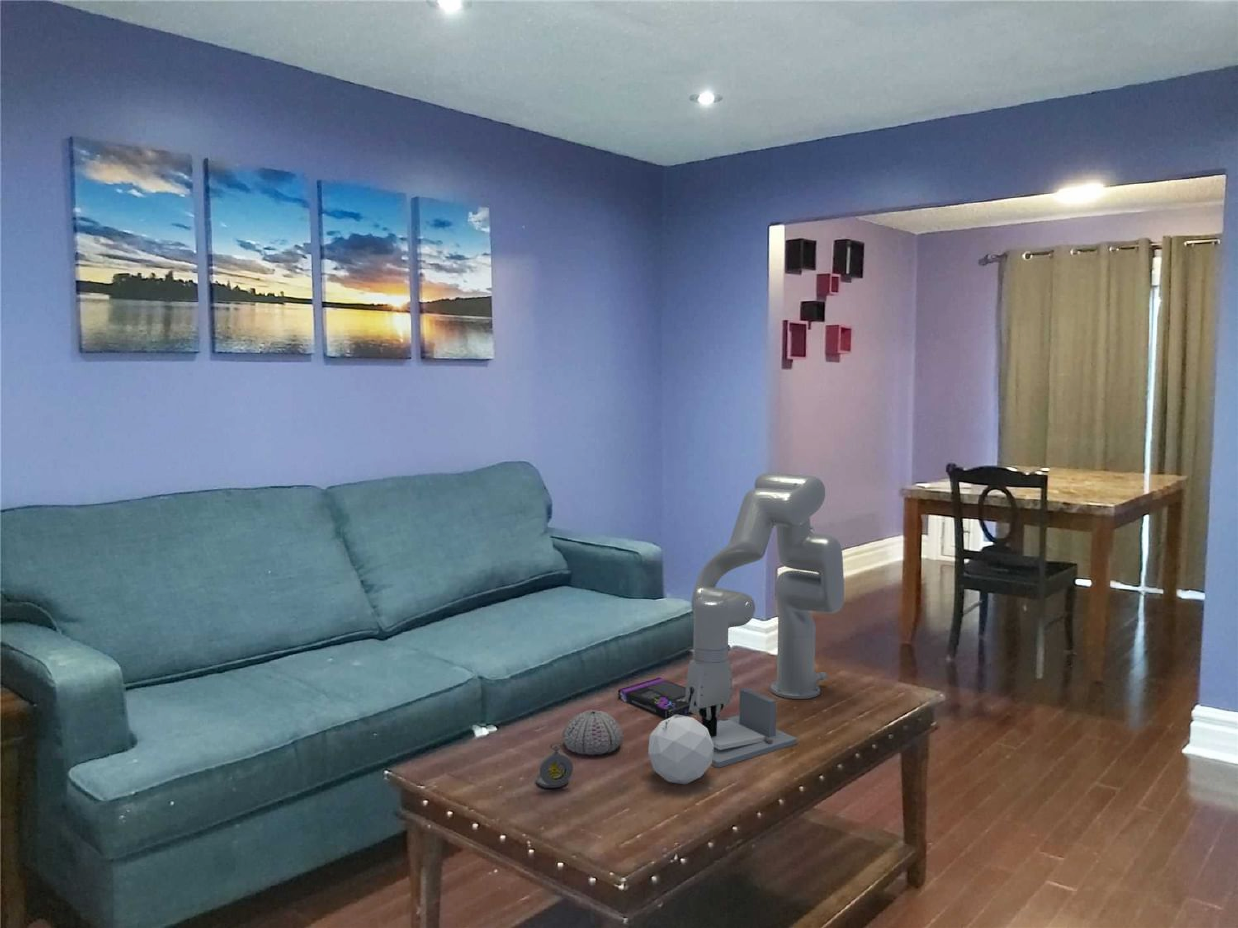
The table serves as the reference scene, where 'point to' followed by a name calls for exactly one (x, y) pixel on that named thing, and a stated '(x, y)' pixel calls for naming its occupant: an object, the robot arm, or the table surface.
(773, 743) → the board
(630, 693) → the box
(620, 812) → the table surface
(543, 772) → the pocket watch
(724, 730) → the tile
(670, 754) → the geodesic sphere
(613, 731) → the sea urchin shell
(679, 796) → the table surface
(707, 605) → the robot arm
